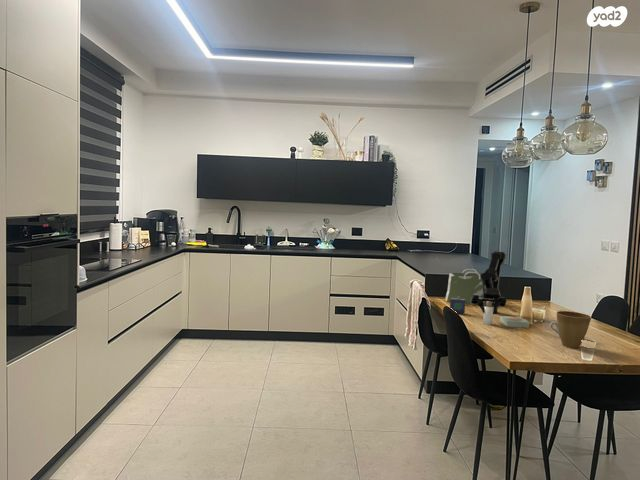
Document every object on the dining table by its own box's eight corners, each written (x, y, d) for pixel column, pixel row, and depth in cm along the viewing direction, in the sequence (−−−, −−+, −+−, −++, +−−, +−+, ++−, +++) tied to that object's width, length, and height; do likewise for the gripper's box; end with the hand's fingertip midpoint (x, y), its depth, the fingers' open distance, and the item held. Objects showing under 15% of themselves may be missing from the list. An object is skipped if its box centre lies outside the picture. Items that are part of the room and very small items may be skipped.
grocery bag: (446, 302, 315) (448, 269, 313) (444, 298, 328) (447, 266, 326) (495, 306, 309) (498, 272, 307) (491, 302, 322) (494, 269, 320)
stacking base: (500, 320, 270) (500, 315, 269) (521, 322, 269) (521, 316, 269) (507, 326, 258) (507, 320, 257) (529, 327, 257) (529, 321, 257)
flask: (464, 313, 285) (465, 296, 284) (465, 314, 282) (466, 297, 281) (449, 312, 285) (450, 295, 284) (450, 313, 282) (451, 296, 282)
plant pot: (595, 350, 221) (598, 317, 219) (570, 351, 217) (573, 318, 215) (570, 340, 235) (573, 310, 234) (546, 341, 231) (549, 310, 229)
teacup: (577, 336, 243) (579, 321, 243) (579, 342, 234) (581, 326, 233) (548, 332, 249) (549, 318, 249) (549, 337, 239) (550, 322, 239)
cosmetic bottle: (481, 322, 264) (483, 300, 263) (490, 323, 264) (492, 300, 262) (484, 324, 259) (486, 302, 258) (493, 325, 259) (495, 302, 257)
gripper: (472, 280, 265) (473, 303, 255) (507, 283, 261) (508, 306, 251) (470, 291, 274) (470, 314, 264) (503, 294, 269) (505, 317, 260)
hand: (488, 313), depth 259 cm, fingers closed on cosmetic bottle, 5 cm apart
